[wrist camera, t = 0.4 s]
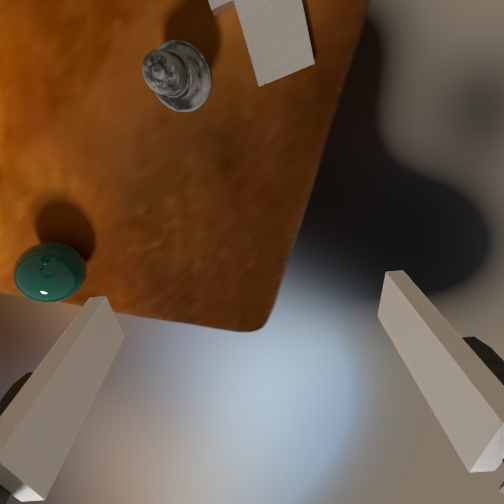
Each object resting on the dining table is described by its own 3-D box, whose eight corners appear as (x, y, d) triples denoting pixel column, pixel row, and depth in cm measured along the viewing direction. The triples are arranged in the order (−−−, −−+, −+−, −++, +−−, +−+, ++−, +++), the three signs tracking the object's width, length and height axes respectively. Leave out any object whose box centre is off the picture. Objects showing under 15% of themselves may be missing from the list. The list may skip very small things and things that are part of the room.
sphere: (67, 222, 37) (27, 251, 30) (109, 265, 41) (81, 300, 34) (26, 247, 39) (-21, 280, 32) (69, 286, 43) (35, 323, 36)
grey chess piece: (193, 32, 27) (160, -7, 17) (225, 91, 30) (213, 89, 20) (147, 67, 29) (91, 51, 18) (181, 121, 31) (149, 134, 21)
